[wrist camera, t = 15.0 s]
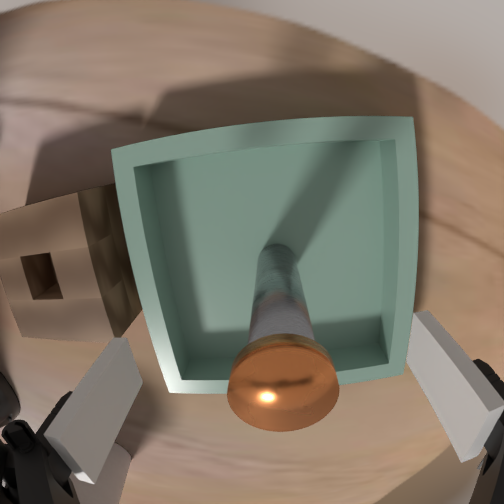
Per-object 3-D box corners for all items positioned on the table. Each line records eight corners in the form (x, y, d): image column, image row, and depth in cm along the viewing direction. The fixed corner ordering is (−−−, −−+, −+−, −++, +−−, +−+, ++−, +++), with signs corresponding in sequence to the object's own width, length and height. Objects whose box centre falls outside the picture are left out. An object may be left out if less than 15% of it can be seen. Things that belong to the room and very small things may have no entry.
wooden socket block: (142, 309, 28) (116, 342, 23) (52, 310, 29) (22, 336, 24) (115, 183, 25) (77, 192, 19) (24, 205, 26) (-14, 218, 20)
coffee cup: (75, 427, 36) (33, 496, 22) (125, 435, 35) (87, 518, 21) (101, 463, 39) (71, 527, 24) (149, 471, 38) (124, 546, 23)
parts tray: (388, 346, 28) (402, 374, 24) (181, 364, 30) (169, 392, 26) (390, 122, 22) (412, 116, 18) (136, 149, 24) (110, 149, 20)
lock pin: (303, 283, 25) (336, 426, 11) (254, 287, 25) (235, 433, 11) (300, 234, 24) (341, 346, 9) (248, 239, 24) (218, 356, 10)
